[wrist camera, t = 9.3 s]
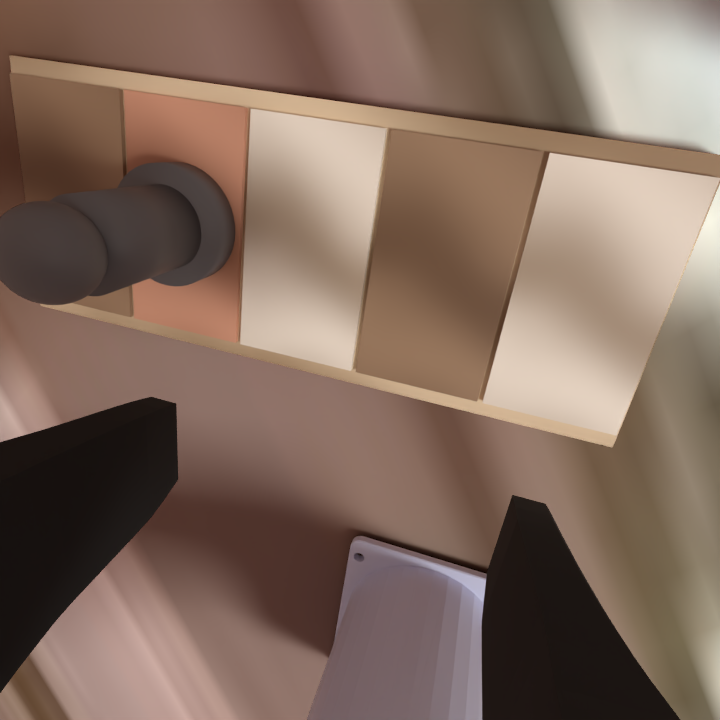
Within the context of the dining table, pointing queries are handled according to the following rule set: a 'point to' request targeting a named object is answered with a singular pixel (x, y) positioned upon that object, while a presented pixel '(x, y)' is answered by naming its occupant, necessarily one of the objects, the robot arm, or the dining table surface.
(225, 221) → the pawn
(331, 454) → the dining table surface
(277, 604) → the dining table surface
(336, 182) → the board
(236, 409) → the dining table surface
